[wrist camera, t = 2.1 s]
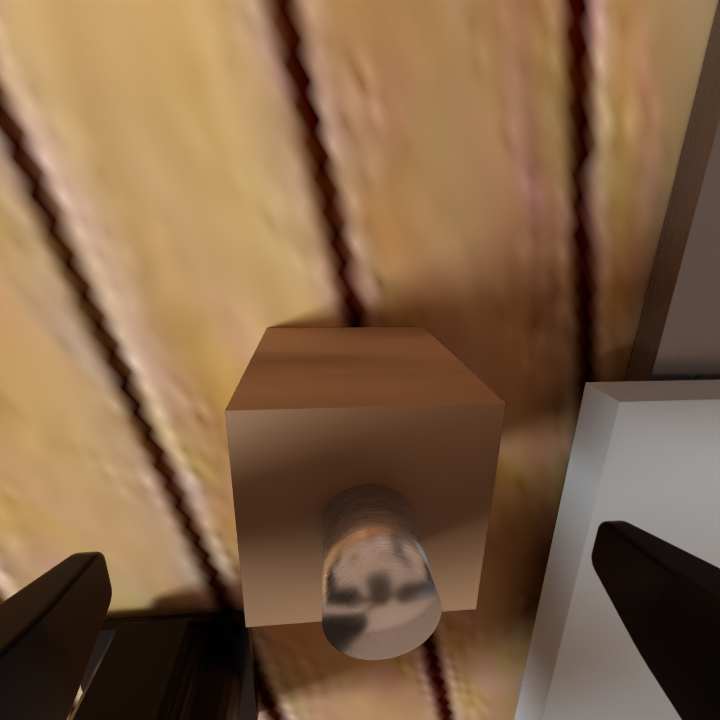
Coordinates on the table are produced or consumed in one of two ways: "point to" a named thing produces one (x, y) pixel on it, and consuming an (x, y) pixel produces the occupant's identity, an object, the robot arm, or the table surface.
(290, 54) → the table surface
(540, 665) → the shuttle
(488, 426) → the housing
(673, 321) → the press frame
